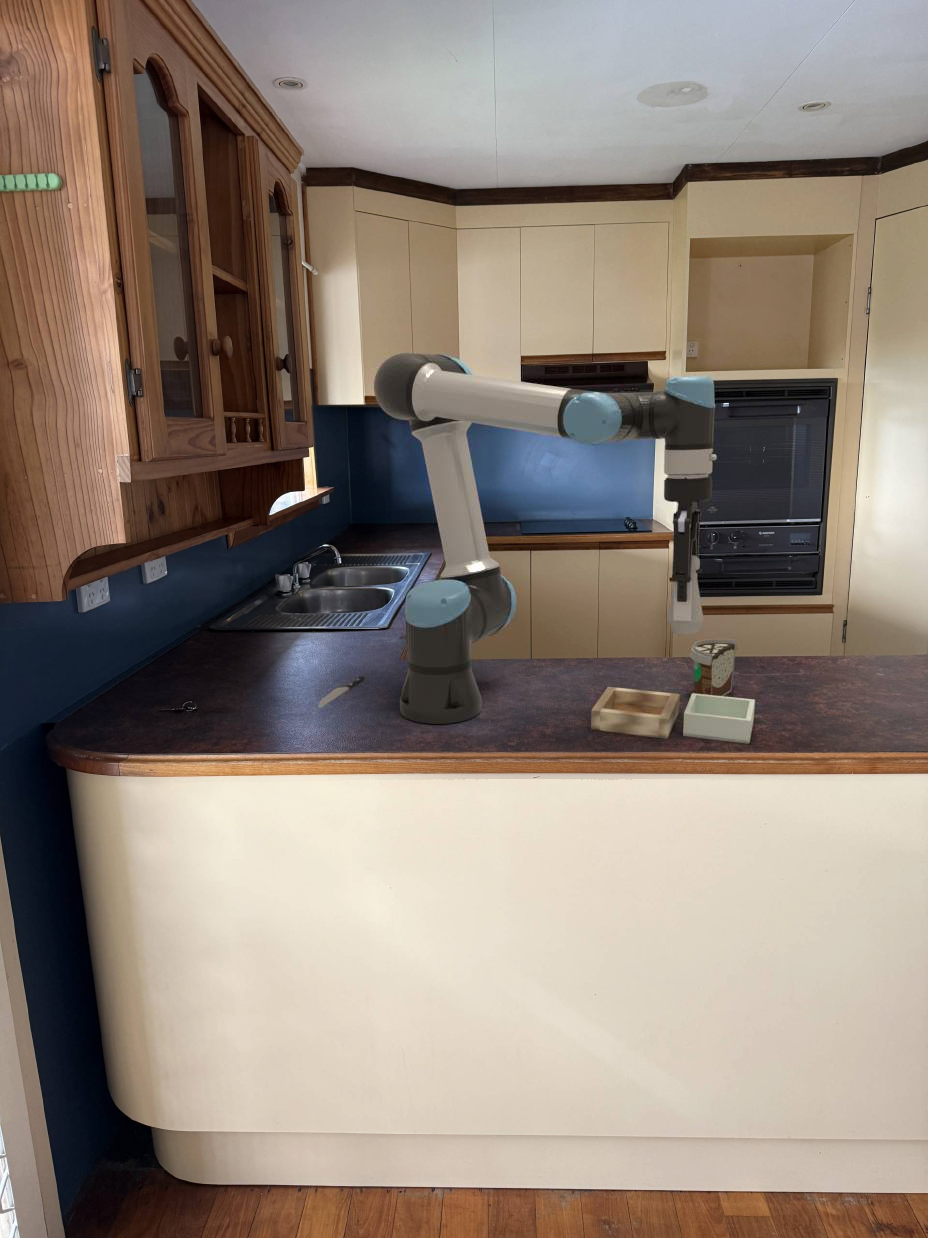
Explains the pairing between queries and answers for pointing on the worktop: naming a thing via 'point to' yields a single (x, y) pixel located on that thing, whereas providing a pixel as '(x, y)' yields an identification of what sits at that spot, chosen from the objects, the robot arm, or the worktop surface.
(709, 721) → the bin
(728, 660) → the food container
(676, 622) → the salt shaker
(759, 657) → the worktop surface
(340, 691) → the chef's knife
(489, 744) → the worktop surface
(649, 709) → the plate
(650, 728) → the beige square tray
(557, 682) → the worktop surface
